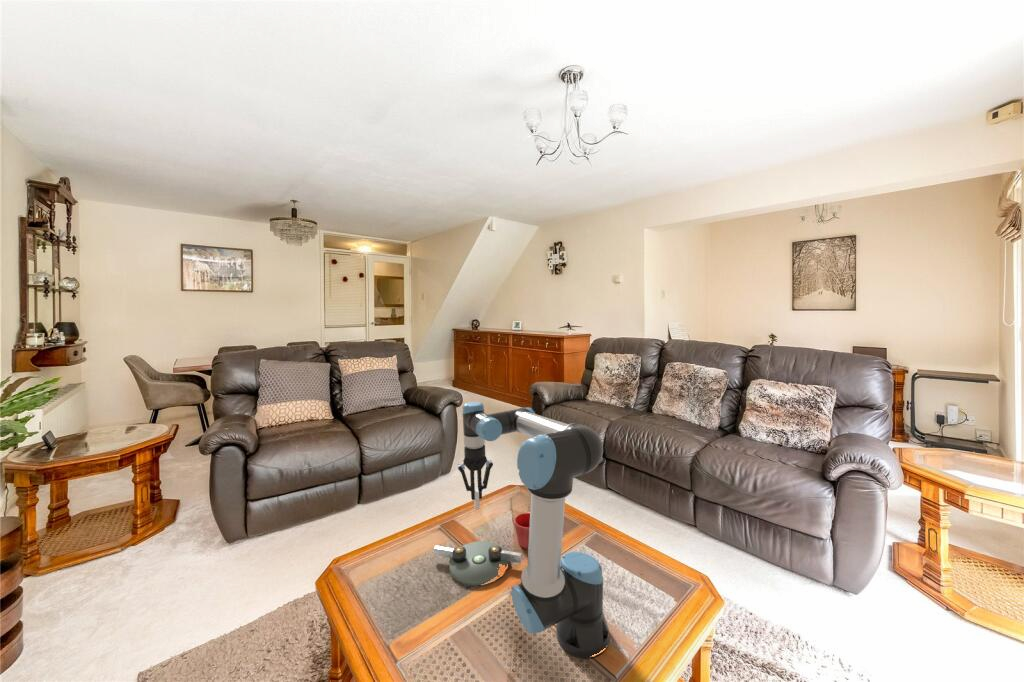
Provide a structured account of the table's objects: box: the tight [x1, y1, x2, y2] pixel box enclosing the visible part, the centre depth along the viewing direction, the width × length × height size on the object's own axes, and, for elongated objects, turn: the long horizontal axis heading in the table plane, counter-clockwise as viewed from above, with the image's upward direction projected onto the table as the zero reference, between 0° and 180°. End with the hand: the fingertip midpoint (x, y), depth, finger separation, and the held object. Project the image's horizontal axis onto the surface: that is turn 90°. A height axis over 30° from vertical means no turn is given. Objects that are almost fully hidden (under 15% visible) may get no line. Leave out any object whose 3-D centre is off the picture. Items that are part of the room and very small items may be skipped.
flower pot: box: [513, 512, 530, 549], centre depth 156 cm, size 11×11×10 cm
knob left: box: [433, 545, 466, 563], centre depth 145 cm, size 12×5×4 cm, turn 74°
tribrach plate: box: [448, 540, 510, 587], centre depth 144 cm, size 22×22×2 cm
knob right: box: [488, 546, 523, 564], centre depth 143 cm, size 12×5×4 cm, turn 74°
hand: (477, 507), depth 142 cm, fingers closed
